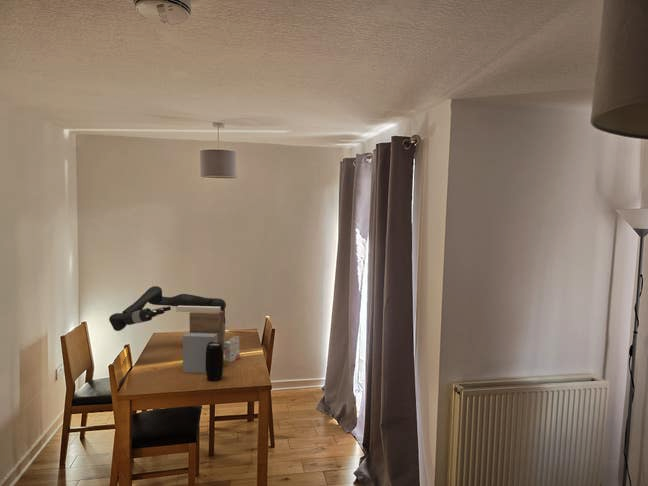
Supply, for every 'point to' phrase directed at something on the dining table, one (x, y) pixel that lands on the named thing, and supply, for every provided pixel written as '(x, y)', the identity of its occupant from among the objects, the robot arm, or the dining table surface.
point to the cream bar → (198, 309)
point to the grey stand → (196, 351)
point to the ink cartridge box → (232, 349)
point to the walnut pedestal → (208, 324)
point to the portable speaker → (214, 361)
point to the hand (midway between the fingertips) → (167, 309)
